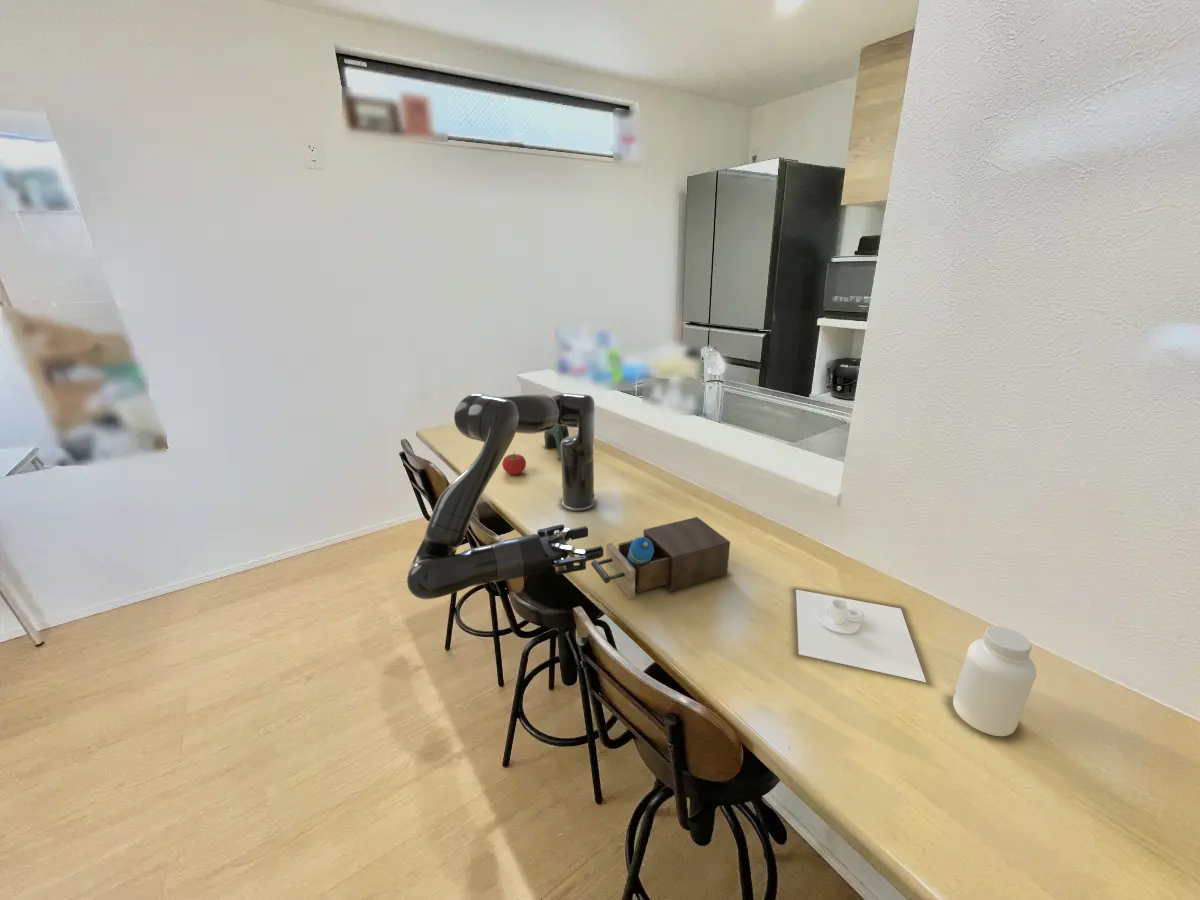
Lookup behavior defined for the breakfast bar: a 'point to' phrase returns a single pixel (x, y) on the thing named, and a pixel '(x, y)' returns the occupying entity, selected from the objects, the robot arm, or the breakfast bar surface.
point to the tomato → (514, 464)
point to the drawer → (634, 569)
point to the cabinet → (691, 551)
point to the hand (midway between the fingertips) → (594, 540)
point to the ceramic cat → (556, 437)
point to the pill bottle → (995, 681)
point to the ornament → (640, 551)
